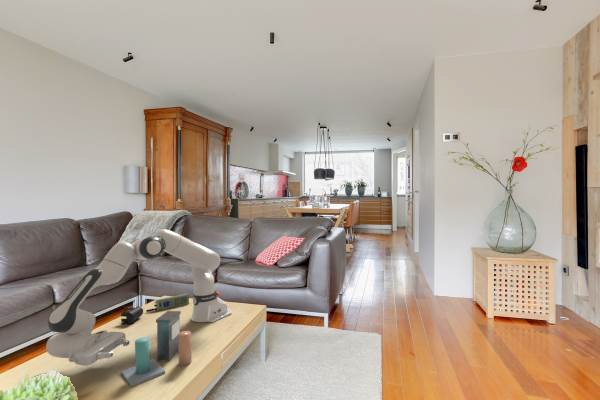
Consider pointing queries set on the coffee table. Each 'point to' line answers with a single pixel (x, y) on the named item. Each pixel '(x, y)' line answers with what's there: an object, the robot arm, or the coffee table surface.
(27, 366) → the coffee table surface
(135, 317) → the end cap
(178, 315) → the block
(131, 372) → the mat
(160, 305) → the handheld radio
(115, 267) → the robot arm
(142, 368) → the teal canister
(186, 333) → the terracotta canister
